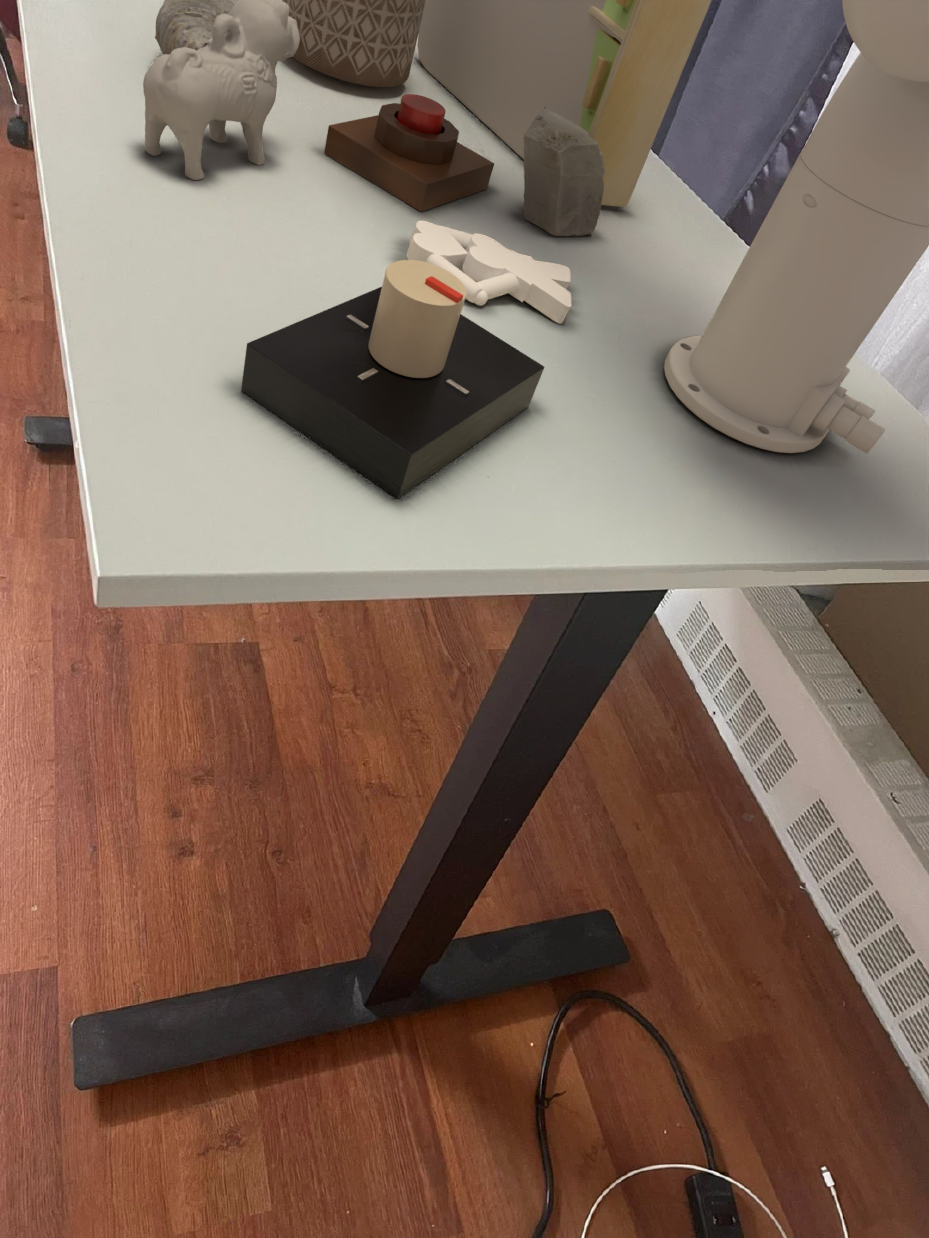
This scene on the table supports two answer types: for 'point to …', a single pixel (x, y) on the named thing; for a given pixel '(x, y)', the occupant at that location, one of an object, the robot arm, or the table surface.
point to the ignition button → (421, 114)
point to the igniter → (409, 159)
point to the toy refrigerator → (635, 81)
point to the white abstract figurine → (493, 269)
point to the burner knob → (416, 318)
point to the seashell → (188, 23)
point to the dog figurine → (220, 82)
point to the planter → (358, 38)
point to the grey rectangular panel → (511, 58)
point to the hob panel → (386, 393)
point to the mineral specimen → (562, 176)
